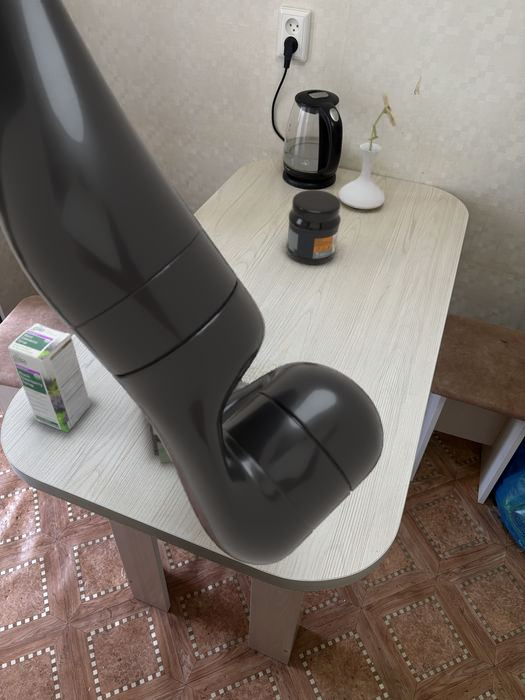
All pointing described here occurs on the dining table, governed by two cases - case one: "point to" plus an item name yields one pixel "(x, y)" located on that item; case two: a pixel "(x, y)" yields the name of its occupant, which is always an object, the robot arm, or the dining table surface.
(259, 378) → the robot arm
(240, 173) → the dining table surface
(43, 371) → the syrup box
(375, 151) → the flower in vase
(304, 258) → the supplement container
